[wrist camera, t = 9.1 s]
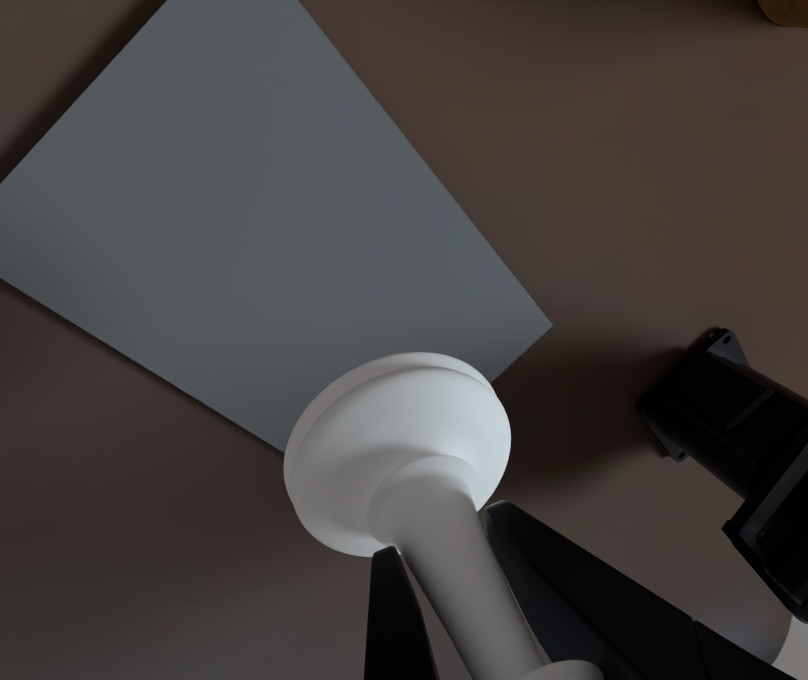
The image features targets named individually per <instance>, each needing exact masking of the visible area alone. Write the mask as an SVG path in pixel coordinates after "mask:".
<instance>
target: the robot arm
mask: <svg viewBox="0 0 808 680" xmlns="http://www.w3.org/2000/svg"><path fill="white" fill-rule="evenodd" d="M636 411H637V413H638V414H639V416H640V417H641V418H642V420H643V421H644V422H645V424H646V425H647V426H648V428H649V429H650V430H651V432H652V433H653V434H654V436H655V437H656V438H657V440H658V441H659V442H660V444H661V445H662V446H663V447H664V449H665V450H666V451H667V453H668V454H669V455H670V457H671V458H672V459H674V460H675V461H676V462H681V461H683V460H684V459H686V458H687V457H688V456H689V455H690V456H691V457H692V458H693V459H694V460H696V461H697V462H698V463H699V464H701V465H702V466H703V467H704V468H706V469H707V470H708V471H709V472H711V473H712V474H713V475H714V476H716V477H717V478H718V479H719V480H721V481H722V482H723V483H724V484H726V485H727V486H728V487H729V488H730V489H732V490H733V491H734V492H735V493H737V494H738V495H739V496H740V497H742V498H743V499H744V500H745V501H744V502H743V504H742V505H741V506H740V508H739V509H738V510H737V512H736V513H735V514H734V516H733V517H732V518H731V520H727V521H726V523H725V524H724V525H723V526H722V528H721V529H722V531H723V532H724V533H725V534H726V535H727V537H728V538H729V539H730V540H731V541H732V544H733V545H734V547H735V548H736V549H737V550H738V551H739V553H740V554H741V555H742V556H743V557H744V558H745V560H746V561H747V562H748V563H749V564H750V566H751V567H752V568H753V569H754V570H755V571H756V573H757V574H758V575H759V576H760V577H761V579H762V580H763V581H764V582H765V583H766V584H767V586H768V587H769V588H770V589H771V590H772V592H773V593H774V594H775V595H776V596H777V597H778V599H779V600H780V601H781V602H782V603H783V604H784V606H785V607H786V608H787V609H788V610H789V611H790V612H792V614H793V615H794V616H795V617H796V618H797V619H798V620H800V621H801V622H803V623H805V624H808V399H806V398H804V397H802V396H800V395H799V394H797V393H795V392H793V391H791V390H790V389H788V388H786V387H784V386H782V385H781V384H779V383H777V382H775V381H773V380H772V379H770V378H768V377H766V376H764V375H763V374H761V373H759V372H757V371H755V370H754V369H752V368H750V366H749V364H748V362H747V359H746V357H745V355H744V353H743V351H742V349H741V347H740V345H739V342H738V340H737V338H736V336H735V334H734V333H733V332H732V331H730V330H728V329H725V328H723V329H721V330H719V331H718V332H717V333H716V334H715V335H713V336H712V337H711V338H710V339H709V340H708V341H707V342H706V343H704V344H703V345H702V346H701V347H700V348H699V349H698V350H697V351H695V352H694V353H693V354H692V355H691V356H690V357H689V358H688V359H687V360H685V361H684V362H683V363H682V364H681V365H680V366H679V367H678V368H676V369H675V370H674V371H673V372H672V373H671V374H670V375H669V376H668V377H666V378H665V379H664V380H663V381H662V382H661V383H660V384H659V385H657V386H656V387H655V388H654V389H653V390H652V391H651V392H650V393H648V394H647V395H646V396H645V397H644V398H643V399H642V400H641V401H640V402H639V403H638V404H637V406H636ZM485 519H486V526H487V533H488V539H489V542H490V545H491V547H492V549H493V552H494V554H495V556H496V558H497V560H498V562H499V564H500V566H501V568H502V570H503V572H504V574H505V576H506V578H507V580H508V582H509V585H510V587H511V589H512V591H513V593H514V595H515V597H516V599H517V601H518V603H519V605H520V607H521V609H522V611H523V613H524V615H525V617H526V619H527V621H528V623H529V625H530V627H531V629H532V631H533V632H534V634H535V636H536V637H537V639H538V641H539V642H540V644H541V646H542V647H543V649H544V650H545V652H546V654H547V655H548V657H549V658H550V660H551V662H552V663H555V662H559V661H566V660H583V661H587V662H590V663H593V664H594V665H596V666H597V667H598V668H600V670H601V671H602V673H603V676H604V680H797V679H795V678H794V677H792V676H790V675H788V674H786V673H784V672H782V671H781V670H779V669H777V668H775V667H773V666H772V665H770V664H768V663H766V662H764V661H762V660H761V659H759V658H757V657H756V656H754V655H752V654H751V653H749V652H747V651H746V650H744V649H742V648H741V647H739V646H737V645H736V644H734V643H732V642H731V641H729V640H727V639H726V638H724V637H722V636H721V635H719V634H718V633H716V632H714V631H713V630H711V629H710V628H708V627H707V626H705V625H704V624H702V623H700V622H699V621H694V622H693V619H692V617H691V616H689V615H687V614H686V613H684V612H683V611H681V610H680V609H678V608H676V607H675V606H673V605H672V604H670V603H669V602H667V601H665V600H664V599H662V598H661V597H659V596H657V595H656V594H654V593H653V592H651V591H650V590H648V589H646V588H645V587H643V586H642V585H640V584H639V583H637V582H635V581H634V580H632V579H631V578H629V577H627V576H626V575H624V574H623V573H621V572H620V571H618V570H616V569H615V568H613V567H612V566H610V565H608V564H607V563H605V562H604V561H602V560H601V559H599V558H597V557H596V556H594V555H593V554H591V553H590V552H588V551H586V550H585V549H583V548H582V547H580V546H578V545H577V544H575V543H574V542H572V541H571V540H569V539H567V538H566V537H564V536H563V535H561V534H560V533H558V532H556V531H555V530H553V529H552V528H550V527H548V526H547V525H545V524H544V523H542V522H541V521H539V520H537V519H536V518H534V517H533V516H531V515H530V514H528V513H526V512H525V511H523V510H522V509H520V508H518V507H517V506H515V505H514V504H512V503H511V502H509V501H507V500H501V501H499V502H496V503H494V504H491V505H489V506H487V507H486V508H485ZM364 680H440V678H439V674H438V671H437V667H436V663H435V660H434V656H433V652H432V649H431V645H430V641H429V638H428V634H427V630H426V627H425V623H424V619H423V616H422V612H421V609H420V606H419V603H418V600H417V598H416V595H415V593H414V590H413V588H412V585H411V583H410V581H409V578H408V576H407V573H406V571H405V568H404V566H403V563H402V561H401V559H400V556H399V554H398V551H397V549H396V547H395V546H388V547H386V548H383V549H381V550H378V551H376V552H374V554H373V556H372V565H371V580H370V595H369V610H368V624H367V639H366V654H365V669H364Z"/></svg>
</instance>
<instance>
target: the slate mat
mask: <svg viewBox="0 0 808 680" xmlns="http://www.w3.org/2000/svg"><path fill="white" fill-rule="evenodd" d="M0 278H1V279H3V280H4V281H6V282H7V283H9V284H11V285H12V286H14V287H16V288H17V289H19V290H20V291H22V292H24V293H25V294H27V295H29V296H30V297H32V298H33V299H35V300H37V301H38V302H40V303H42V304H43V305H45V306H46V307H48V308H50V309H51V310H53V311H54V312H56V313H58V314H59V315H61V316H63V317H64V318H66V319H67V320H69V321H71V322H72V323H74V324H76V325H77V326H79V327H80V328H82V329H84V330H85V331H87V332H89V333H90V334H92V335H93V336H95V337H97V338H98V339H100V340H102V341H103V342H105V343H106V344H108V345H110V346H111V347H113V348H115V349H116V350H118V351H119V352H121V353H123V354H124V355H126V356H128V357H129V358H131V359H132V360H134V361H136V362H137V363H139V364H141V365H142V366H144V367H145V368H147V369H149V370H150V371H152V372H153V373H155V374H157V375H158V376H160V377H162V378H163V379H165V380H166V381H168V382H170V383H171V384H173V385H175V386H176V387H178V388H179V389H181V390H183V391H184V392H186V393H188V394H189V395H191V396H192V397H194V398H196V399H197V400H199V401H201V402H202V403H204V404H205V405H207V406H209V407H210V408H212V409H214V410H215V411H217V412H218V413H220V414H222V415H223V416H225V417H227V418H228V419H230V420H231V421H233V422H235V423H236V424H238V425H240V426H241V427H243V428H244V429H246V430H248V431H249V432H251V433H253V434H254V435H256V436H257V437H259V438H261V439H262V440H264V441H265V442H267V443H269V444H270V445H272V446H274V447H275V448H277V449H278V450H280V451H282V452H283V453H285V451H286V447H287V443H288V440H289V437H290V435H291V433H292V430H293V428H294V426H295V425H296V423H297V421H298V419H299V418H300V416H301V415H302V413H303V412H304V410H305V409H306V408H307V407H308V405H309V404H310V403H311V402H312V401H313V400H314V399H315V398H316V397H317V395H318V394H319V393H321V392H322V391H323V390H324V389H325V388H326V387H327V386H329V385H330V384H331V383H332V382H334V381H335V380H336V379H338V378H339V377H341V376H342V375H344V374H346V373H347V372H349V371H351V370H353V369H354V368H356V367H358V366H361V365H363V364H365V363H367V362H370V361H373V360H375V359H379V358H382V357H385V356H390V355H394V354H400V353H408V352H430V353H438V354H443V355H447V356H450V357H454V358H456V359H459V360H461V361H463V362H465V363H467V364H469V365H470V366H472V367H473V368H475V369H476V370H477V371H478V372H479V373H481V374H482V375H483V376H484V378H485V379H486V380H487V381H488V382H489V384H490V383H492V382H493V381H494V380H495V379H496V378H497V377H498V376H499V375H500V374H501V373H502V372H503V371H504V370H506V369H507V368H508V367H509V366H510V365H511V364H512V363H513V362H514V361H515V360H516V359H517V358H518V357H520V356H521V355H522V354H523V353H524V352H525V351H526V350H527V349H528V348H529V347H530V346H531V345H532V344H533V343H535V342H536V341H537V340H538V339H539V338H540V337H541V336H542V335H543V334H544V333H545V332H546V331H547V330H549V329H550V328H551V327H552V326H553V325H552V323H551V322H550V321H549V320H548V318H547V317H546V316H545V315H544V313H543V312H542V311H541V309H540V308H539V307H538V306H537V304H536V303H535V302H534V301H533V299H532V298H531V297H530V295H529V294H528V293H527V292H526V290H525V289H524V288H523V286H522V285H521V284H520V283H519V281H518V280H517V279H516V278H515V276H514V275H513V274H512V272H511V271H510V270H509V269H508V267H507V266H506V265H505V264H504V262H503V261H502V260H501V258H500V257H499V256H498V255H497V253H496V252H495V251H494V250H493V248H492V247H491V246H490V244H489V243H488V242H487V241H486V239H485V238H484V237H483V236H482V234H481V233H480V232H479V230H478V229H477V228H476V227H475V225H474V224H473V223H472V221H471V220H470V219H469V218H468V216H467V215H466V214H465V213H464V211H463V210H462V209H461V207H460V206H459V205H458V204H457V202H456V201H455V200H454V199H453V197H452V196H451V195H450V193H449V192H448V191H447V190H446V188H445V187H444V186H443V185H442V183H441V182H440V181H439V179H438V178H437V177H436V176H435V174H434V173H433V172H432V171H431V169H430V168H429V167H428V165H427V164H426V163H425V162H424V160H423V159H422V158H421V156H420V155H419V154H418V153H417V151H416V150H415V149H414V148H413V146H412V145H411V144H410V142H409V141H408V140H407V139H406V137H405V136H404V135H403V134H402V132H401V131H400V130H399V128H398V127H397V126H396V125H395V123H394V122H393V121H392V120H391V118H390V117H389V116H388V114H387V113H386V112H385V111H384V109H383V108H382V107H381V106H380V104H379V103H378V102H377V100H376V99H375V98H374V97H373V95H372V94H371V93H370V92H369V90H368V89H367V88H366V86H365V85H364V84H363V83H362V81H361V80H360V79H359V77H358V76H357V75H356V74H355V72H354V71H353V70H352V69H351V67H350V66H349V65H348V63H347V62H346V61H345V60H344V58H343V57H342V56H341V55H340V53H339V52H338V51H337V49H336V48H335V47H334V46H333V44H332V43H331V42H330V41H329V39H328V38H327V37H326V35H325V34H324V33H323V32H322V30H321V29H320V28H319V27H318V25H317V24H316V23H315V21H314V20H313V19H312V18H311V16H310V15H309V14H308V12H307V11H306V10H305V9H304V7H303V6H302V5H301V4H300V2H299V1H298V0H167V1H166V2H165V3H164V4H163V5H162V6H161V7H160V9H159V10H158V11H157V12H156V13H155V14H154V15H153V16H152V17H151V18H150V20H149V21H148V22H147V23H146V24H145V25H144V26H143V27H142V28H141V29H140V31H139V32H138V33H137V34H136V35H135V36H134V37H133V38H132V39H131V40H130V42H129V43H128V44H127V45H126V46H125V47H124V48H123V49H122V50H121V52H120V53H119V54H118V55H117V56H116V57H115V58H114V59H113V60H112V61H111V63H110V64H109V65H108V66H107V67H106V68H105V69H104V70H103V71H102V72H101V74H100V75H99V76H98V77H97V78H96V79H95V80H94V81H93V82H92V83H91V85H90V86H89V87H88V88H87V89H86V90H85V91H84V92H83V93H82V94H81V96H80V97H79V98H78V99H77V100H76V101H75V102H74V103H73V104H72V105H71V107H70V108H69V109H68V110H67V111H66V112H65V113H64V114H63V115H62V117H61V118H60V119H59V120H58V121H57V122H56V123H55V124H54V125H53V126H52V128H51V129H50V130H49V131H48V132H47V133H46V134H45V135H44V136H43V137H42V139H41V140H40V141H39V142H38V143H37V144H36V145H35V146H34V147H33V148H32V150H31V151H30V152H29V153H28V154H27V155H26V156H25V157H24V158H23V159H22V161H21V162H20V163H19V164H18V165H17V166H16V167H15V168H14V169H13V171H12V172H11V173H10V174H9V175H8V176H7V177H6V178H5V179H4V180H3V182H2V183H1V184H0Z"/></svg>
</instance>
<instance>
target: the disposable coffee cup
mask: <svg viewBox="0 0 808 680" xmlns="http://www.w3.org/2000/svg"><path fill="white" fill-rule="evenodd" d="M757 2H758V5H759V6H760V7H761V9H762V10H763V12H764V13H765V15H766V16H767V17H768V18H769V19H770V20H771V21H773V22H774V23H776V24H779V25H782V26H785V27H799V28H808V0H757Z"/></svg>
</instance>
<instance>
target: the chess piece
mask: <svg viewBox="0 0 808 680" xmlns="http://www.w3.org/2000/svg"><path fill="white" fill-rule="evenodd" d="M510 446H511V432H510V425H509V421H508V417H507V414H506V412H505V410H504V408H503V406H502V404H501V402H500V401H499V399H498V398H497V396H496V394H495V392H494V390H493V388H492V387H491V385H490V384H489V382H488V381H487V380H486V379H485V378H484V376H483V375H482V374H481V373H479V372H478V371H477V370H476V369H475V368H473V367H472V366H470V365H469V364H467V363H465V362H463V361H461V360H459V359H456V358H454V357H450V356H447V355H443V354H438V353H430V352H408V353H400V354H394V355H390V356H385V357H382V358H379V359H375V360H373V361H370V362H367V363H365V364H363V365H361V366H358V367H356V368H354V369H353V370H351V371H349V372H347V373H346V374H344V375H342V376H341V377H339V378H338V379H336V380H335V381H334V382H332V383H331V384H330V385H329V386H327V387H326V388H325V389H324V390H323V391H322V392H321V393H319V394H318V395H317V397H316V398H315V399H314V400H313V401H312V402H311V403H310V404H309V405H308V407H307V408H306V409H305V410H304V412H303V413H302V415H301V416H300V418H299V419H298V421H297V423H296V425H295V426H294V428H293V430H292V433H291V435H290V437H289V440H288V443H287V447H286V451H285V456H284V466H283V467H284V480H285V485H286V489H287V492H288V495H289V497H290V499H291V501H292V503H293V505H294V508H295V511H296V513H297V515H298V518H299V519H300V521H301V523H302V524H303V526H304V527H305V528H306V529H307V531H308V532H309V533H310V534H311V535H312V536H313V537H315V538H316V539H317V540H318V541H320V542H321V543H323V544H324V545H326V546H328V547H330V548H332V549H334V550H337V551H339V552H342V553H346V554H350V555H355V556H363V557H372V556H373V554H374V552H376V551H378V550H381V549H383V548H386V547H388V546H395V547H396V549H397V551H398V554H401V555H402V556H403V558H404V560H405V561H406V563H407V565H408V566H409V568H410V570H411V571H412V573H413V575H414V576H415V578H416V580H417V582H418V583H419V585H420V587H421V588H422V590H423V592H424V593H425V595H426V597H427V598H428V600H429V602H430V604H431V605H432V607H433V609H434V610H435V612H436V614H437V616H438V618H439V619H440V621H441V623H442V624H443V626H444V628H445V630H446V631H447V633H448V635H449V636H450V638H451V640H452V642H453V644H454V646H455V648H456V649H457V651H458V653H459V655H460V657H461V659H462V661H463V663H464V664H465V666H466V668H467V670H468V672H469V673H470V675H471V677H472V679H473V680H604V676H603V673H602V671H601V670H600V668H598V667H597V666H596V665H594V664H593V663H590V662H587V661H583V660H566V661H559V662H555V663H551V664H548V665H545V664H544V662H543V660H542V658H541V656H540V654H539V652H538V649H537V647H536V645H535V643H534V641H533V638H532V636H531V634H530V632H529V630H528V628H527V625H526V623H525V621H524V619H523V617H522V615H521V613H520V611H519V609H518V607H517V605H516V603H515V600H514V598H513V596H512V594H511V591H510V589H509V587H508V584H507V582H506V580H505V577H504V575H503V573H502V571H501V568H500V566H499V564H498V561H497V559H496V557H495V554H494V552H493V549H492V547H491V545H490V542H489V540H488V538H487V535H486V533H485V530H484V528H483V526H482V523H481V521H480V518H479V516H478V513H477V512H478V511H479V510H480V509H481V507H482V506H483V505H484V504H485V503H486V502H487V500H488V499H489V498H490V496H491V495H492V493H493V492H494V490H495V489H496V487H497V485H498V484H499V482H500V480H501V478H502V476H503V473H504V471H505V468H506V465H507V462H508V458H509V453H510Z"/></svg>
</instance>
